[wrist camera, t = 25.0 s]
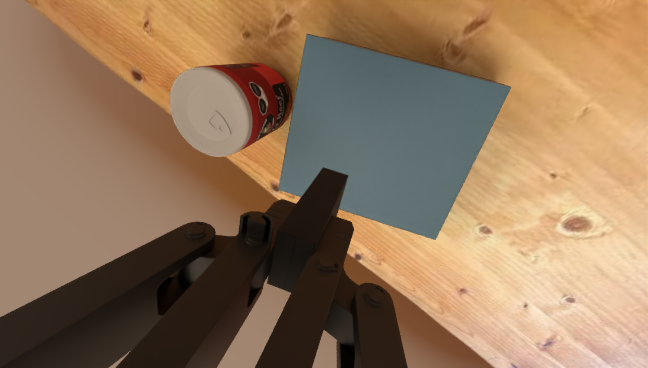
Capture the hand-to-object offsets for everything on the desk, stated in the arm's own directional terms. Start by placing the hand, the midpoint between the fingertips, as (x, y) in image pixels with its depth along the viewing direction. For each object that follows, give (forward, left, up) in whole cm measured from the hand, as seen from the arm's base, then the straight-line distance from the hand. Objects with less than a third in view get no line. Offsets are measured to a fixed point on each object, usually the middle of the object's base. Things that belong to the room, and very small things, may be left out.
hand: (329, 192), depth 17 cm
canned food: (-8, -10, -19) cm, 23 cm away
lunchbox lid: (+2, +1, -14) cm, 14 cm away
